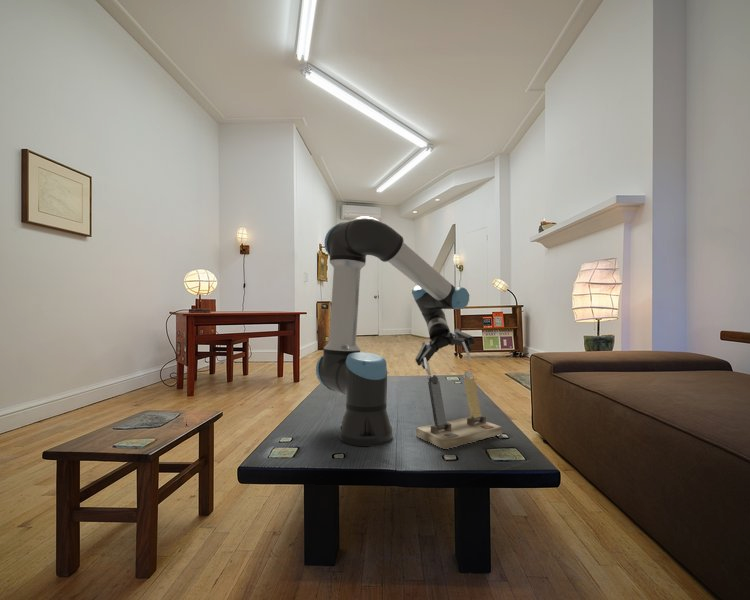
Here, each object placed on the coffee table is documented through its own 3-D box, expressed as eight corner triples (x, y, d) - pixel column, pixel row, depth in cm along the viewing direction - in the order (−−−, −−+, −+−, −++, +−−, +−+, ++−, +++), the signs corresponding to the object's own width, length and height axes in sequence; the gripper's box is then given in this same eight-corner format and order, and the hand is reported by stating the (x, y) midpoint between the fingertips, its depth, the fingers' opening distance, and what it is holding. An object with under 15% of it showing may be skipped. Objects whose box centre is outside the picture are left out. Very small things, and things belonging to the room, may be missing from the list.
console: (416, 436, 106) (416, 421, 106) (471, 424, 118) (471, 410, 118) (445, 450, 96) (445, 433, 96) (501, 435, 108) (501, 420, 108)
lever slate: (433, 430, 104) (425, 376, 107) (442, 428, 105) (433, 375, 109) (440, 430, 101) (431, 375, 105) (449, 428, 103) (439, 374, 107)
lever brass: (469, 422, 111) (460, 372, 115) (477, 421, 113) (468, 371, 116) (476, 422, 109) (467, 371, 112) (484, 420, 110) (474, 370, 114)
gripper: (475, 326, 134) (490, 358, 114) (412, 352, 139) (416, 387, 119) (467, 309, 131) (482, 339, 112) (403, 337, 136) (406, 369, 117)
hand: (448, 364), depth 115 cm, fingers open, 13 cm apart
